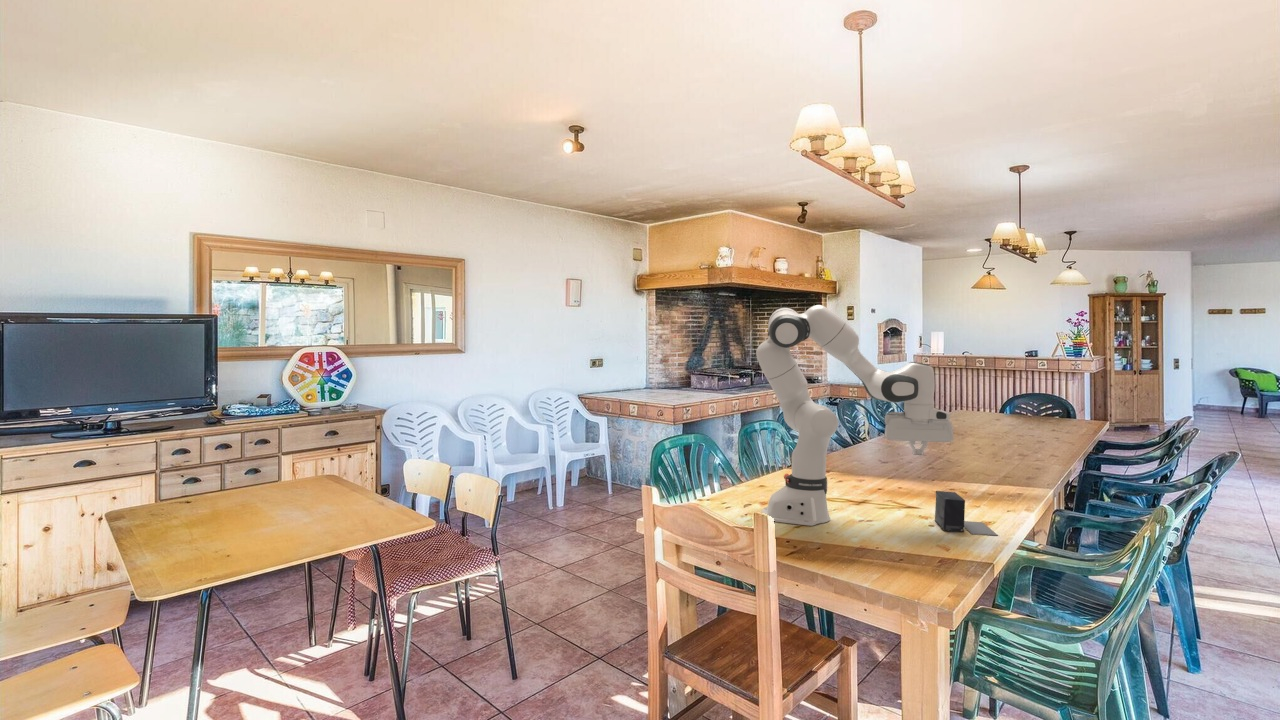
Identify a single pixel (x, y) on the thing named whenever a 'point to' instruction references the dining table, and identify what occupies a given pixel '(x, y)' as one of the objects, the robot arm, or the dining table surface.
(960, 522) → the small box
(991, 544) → the dining table surface
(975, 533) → the mat
